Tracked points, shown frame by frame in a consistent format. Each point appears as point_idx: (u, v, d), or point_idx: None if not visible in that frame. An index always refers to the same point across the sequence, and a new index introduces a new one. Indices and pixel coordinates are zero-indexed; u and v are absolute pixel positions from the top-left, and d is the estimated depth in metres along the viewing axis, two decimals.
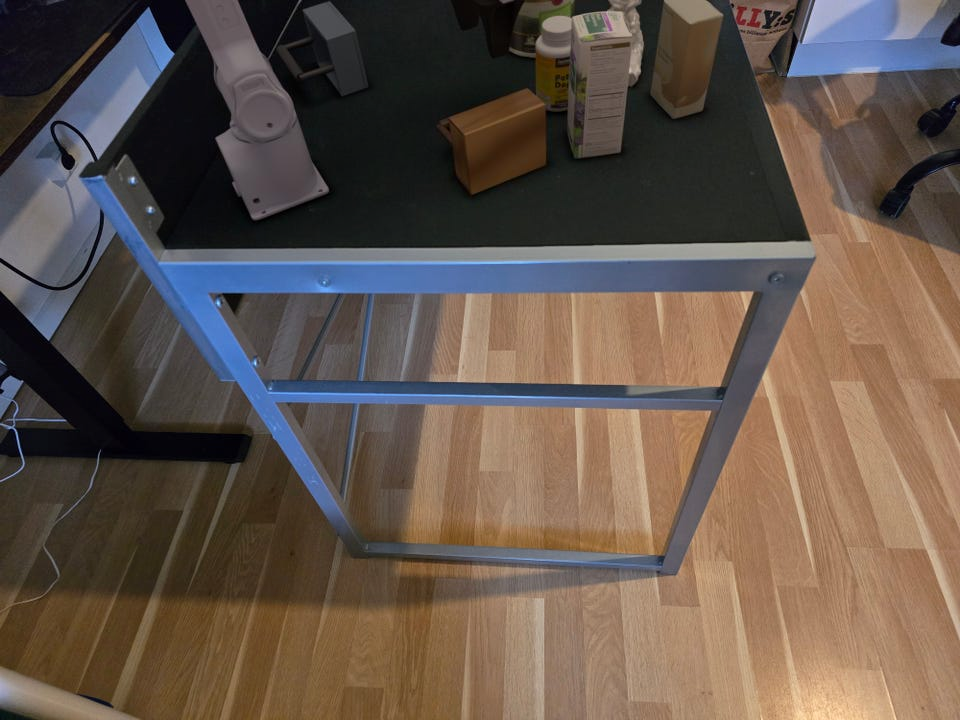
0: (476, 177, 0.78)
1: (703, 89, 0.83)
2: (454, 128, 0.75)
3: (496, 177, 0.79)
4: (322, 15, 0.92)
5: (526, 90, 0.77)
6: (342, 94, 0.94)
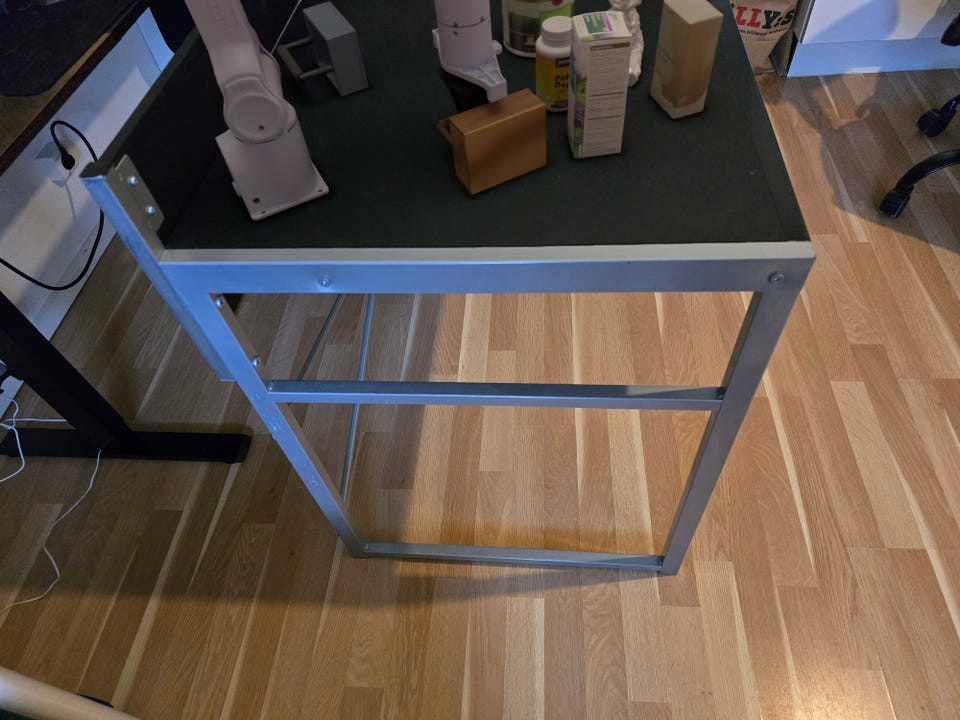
0: (476, 177, 0.78)
1: (703, 89, 0.83)
2: (454, 128, 0.75)
3: (496, 177, 0.79)
4: (322, 15, 0.92)
5: (526, 90, 0.77)
6: (342, 94, 0.94)
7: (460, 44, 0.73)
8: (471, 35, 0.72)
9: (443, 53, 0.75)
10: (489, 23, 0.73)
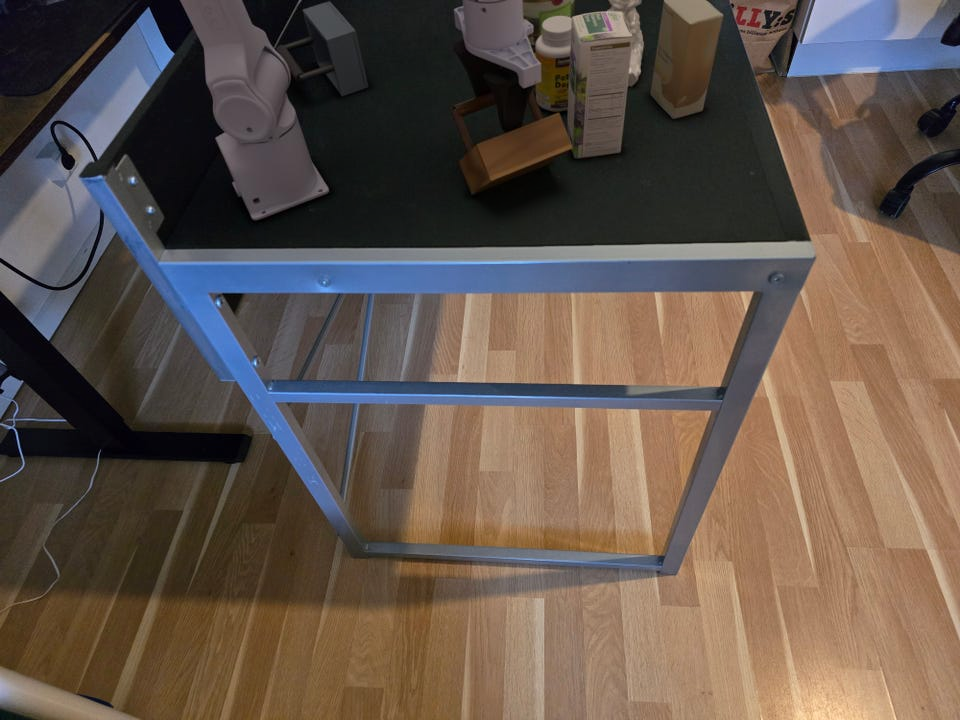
0: (482, 189, 0.78)
1: (703, 89, 0.83)
2: (479, 158, 0.72)
3: (499, 183, 0.79)
4: (322, 15, 0.92)
5: (557, 117, 0.73)
6: (342, 94, 0.94)
7: (489, 22, 0.64)
8: (501, 12, 0.64)
9: (468, 33, 0.67)
10: None
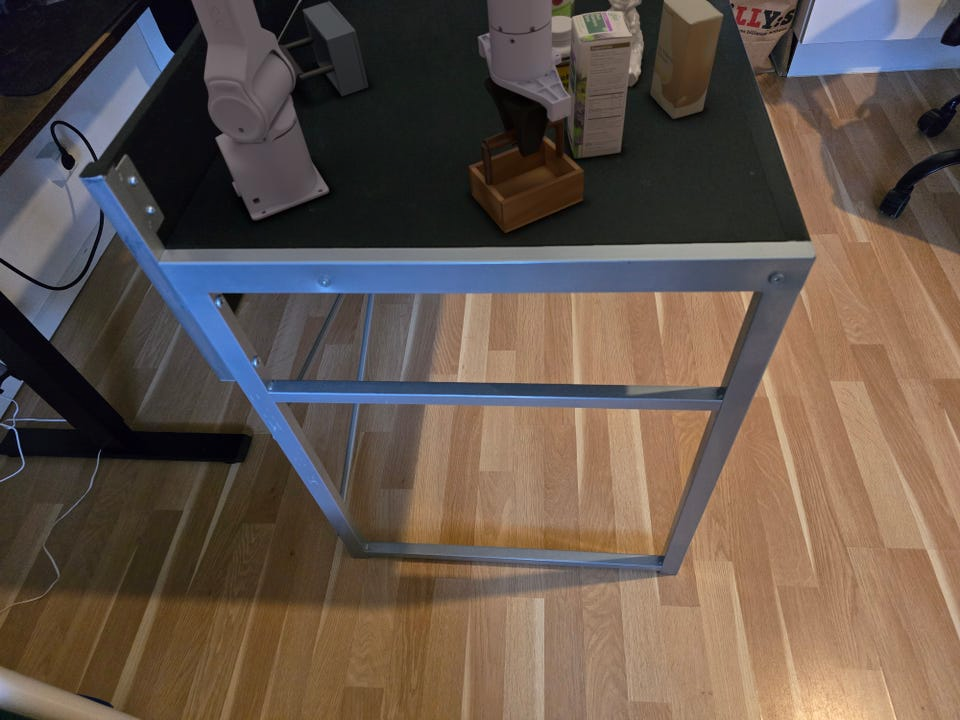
0: None
1: (703, 89, 0.83)
2: (500, 211, 0.73)
3: None
4: (322, 15, 0.92)
5: (581, 175, 0.74)
6: (342, 94, 0.94)
7: (517, 54, 0.62)
8: (530, 44, 0.61)
9: (495, 64, 0.64)
10: (550, 29, 0.62)
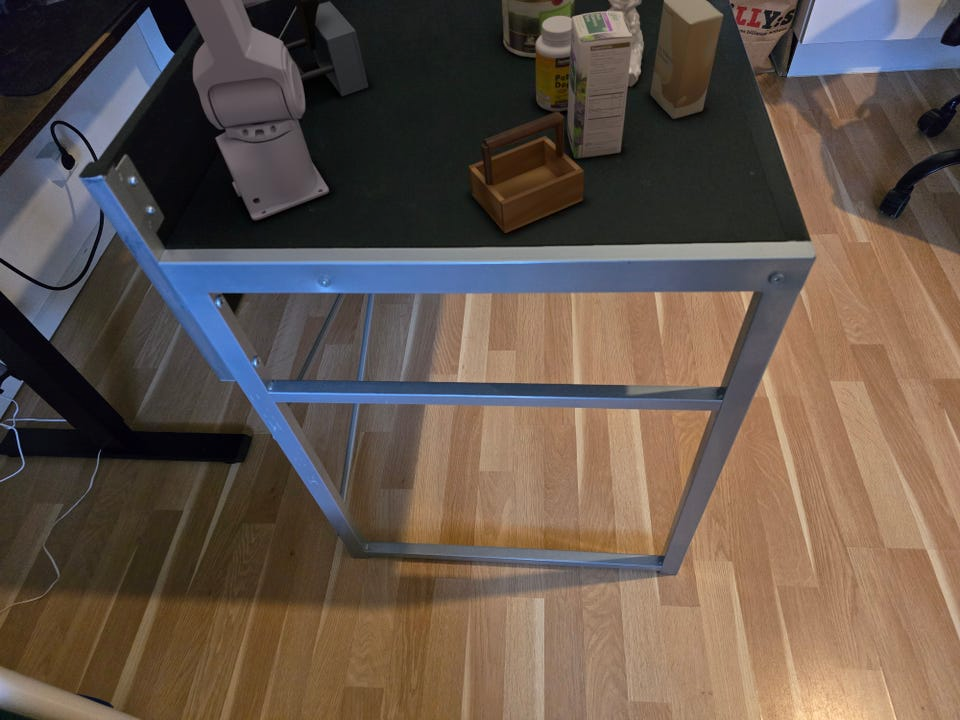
0: None
1: (703, 89, 0.83)
2: (500, 211, 0.73)
3: None
4: (322, 15, 0.92)
5: (581, 175, 0.74)
6: (342, 94, 0.94)
7: None
8: None
9: None
10: None
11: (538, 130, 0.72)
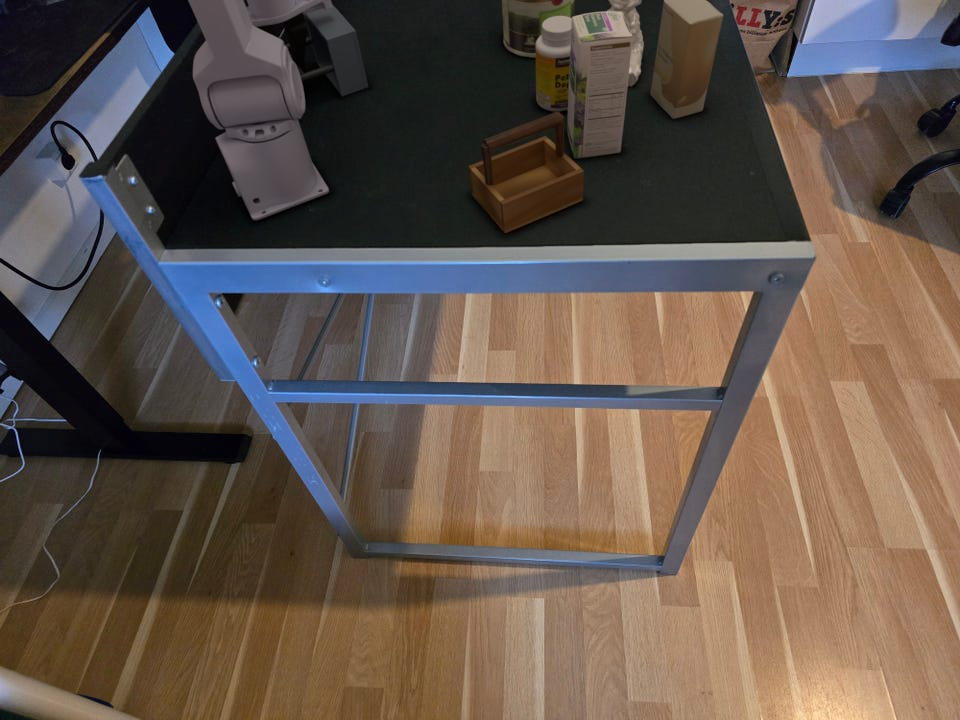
0: None
1: (703, 89, 0.83)
2: (500, 211, 0.73)
3: None
4: (322, 15, 0.92)
5: (581, 175, 0.74)
6: (342, 94, 0.94)
7: None
8: None
9: (277, 7, 0.85)
10: None
11: (538, 130, 0.72)
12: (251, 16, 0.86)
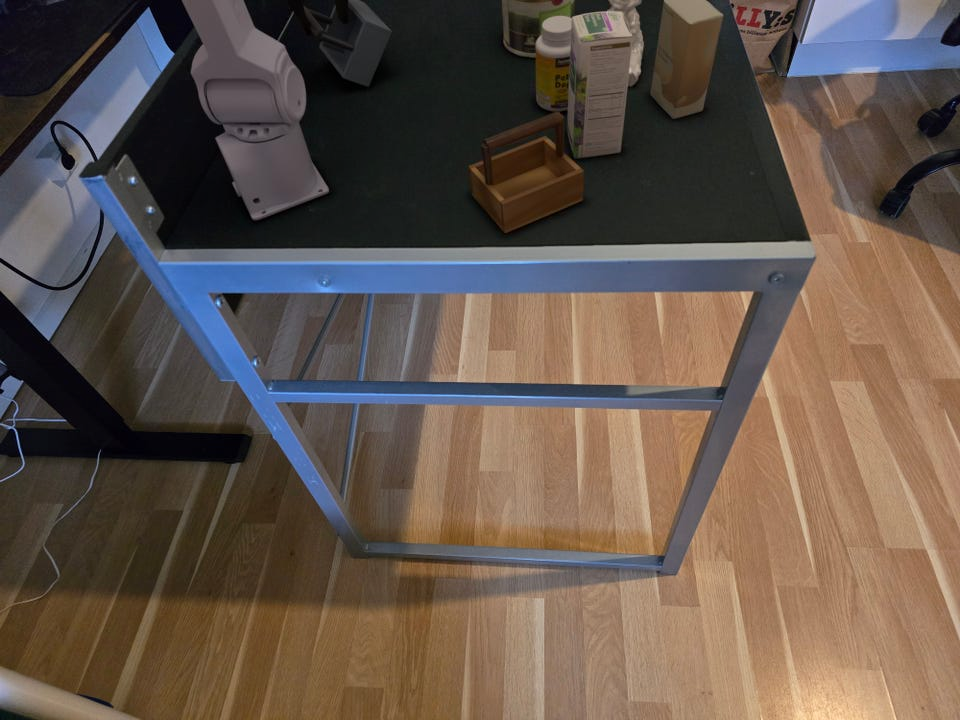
0: None
1: (703, 89, 0.83)
2: (500, 211, 0.73)
3: None
4: (359, 5, 0.94)
5: (581, 175, 0.74)
6: (344, 76, 0.93)
7: None
8: None
9: None
10: None
11: (538, 130, 0.72)
12: None
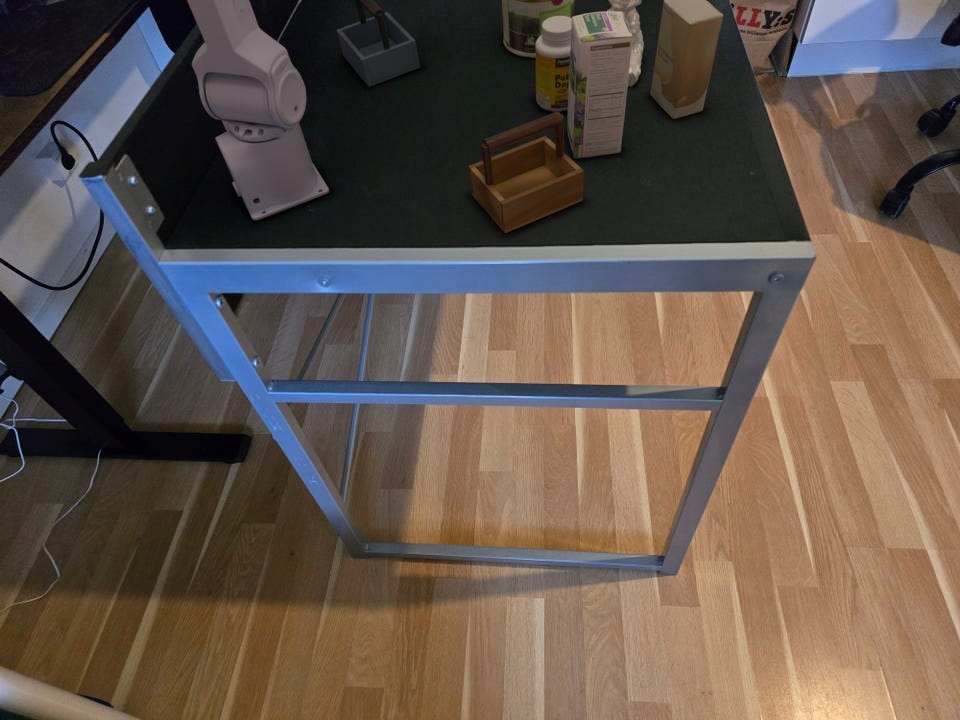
0: None
1: (703, 89, 0.83)
2: (500, 211, 0.73)
3: None
4: None
5: (581, 175, 0.74)
6: (363, 60, 0.92)
7: None
8: None
9: None
10: None
11: (538, 130, 0.72)
12: None
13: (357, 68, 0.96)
